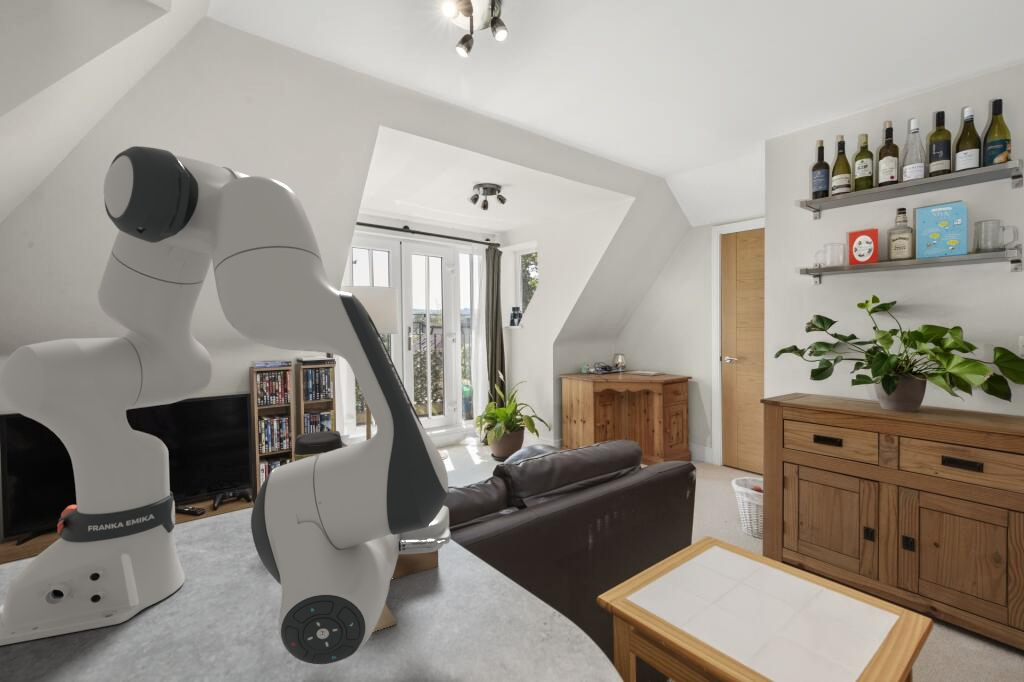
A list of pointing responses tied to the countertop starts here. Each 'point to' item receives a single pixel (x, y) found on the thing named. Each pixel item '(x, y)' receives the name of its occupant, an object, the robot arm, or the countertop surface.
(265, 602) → the countertop surface
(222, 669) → the countertop surface
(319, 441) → the coffee jar
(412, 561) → the walnut box
